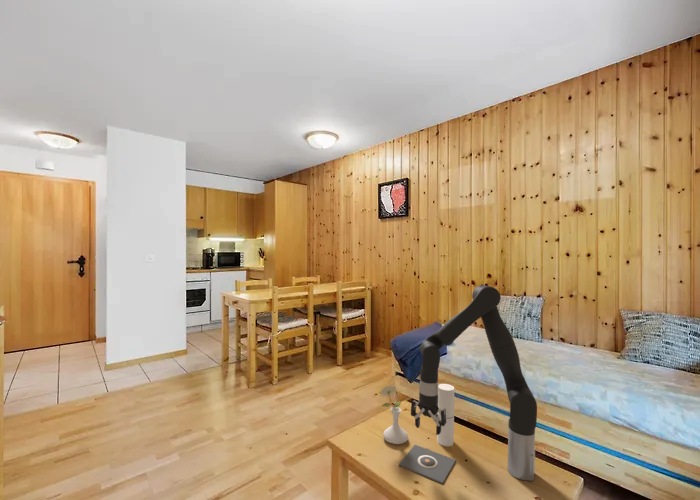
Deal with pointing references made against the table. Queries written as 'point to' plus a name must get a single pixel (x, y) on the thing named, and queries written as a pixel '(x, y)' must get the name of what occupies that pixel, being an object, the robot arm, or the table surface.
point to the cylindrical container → (446, 403)
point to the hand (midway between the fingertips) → (427, 430)
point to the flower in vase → (395, 431)
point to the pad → (428, 463)
